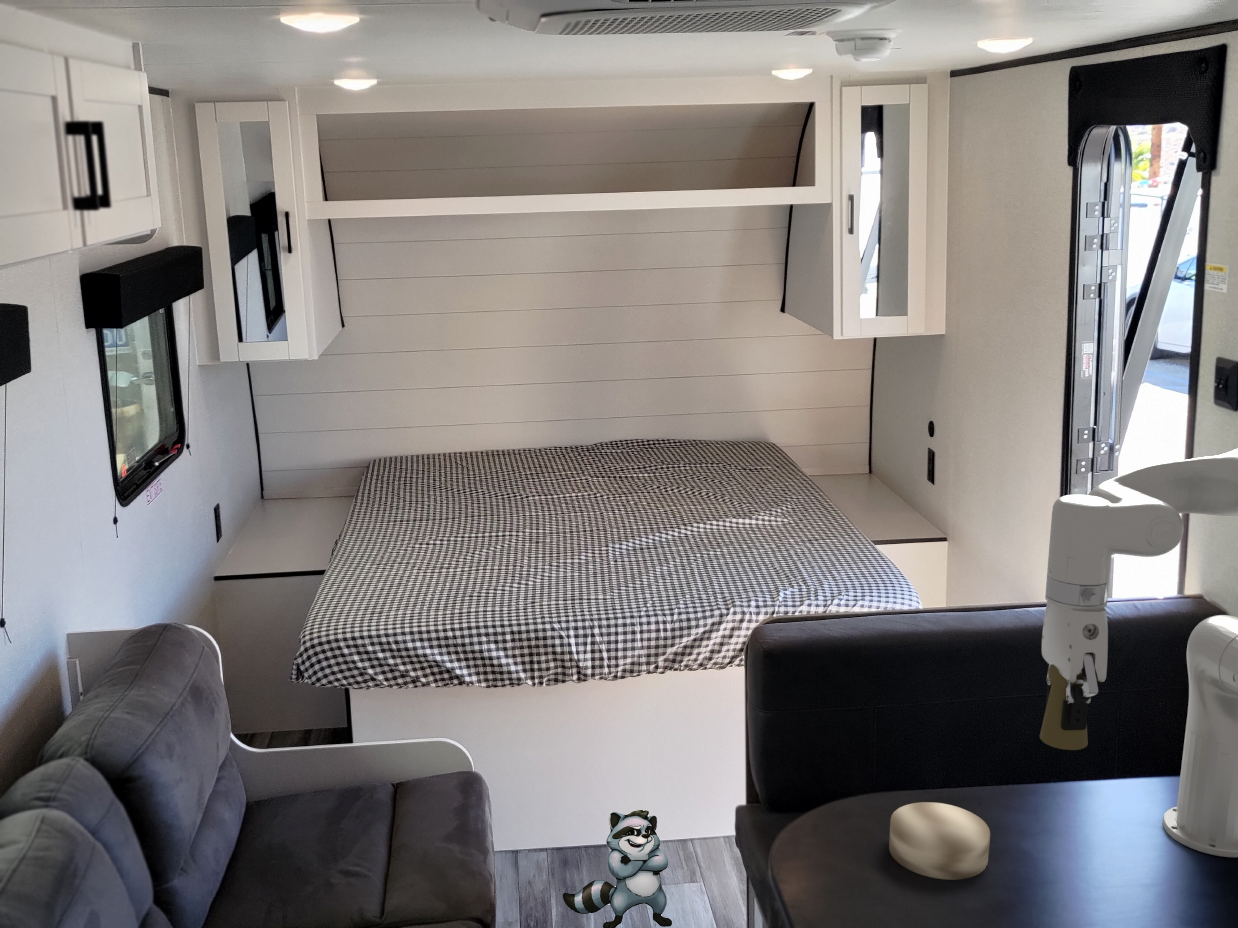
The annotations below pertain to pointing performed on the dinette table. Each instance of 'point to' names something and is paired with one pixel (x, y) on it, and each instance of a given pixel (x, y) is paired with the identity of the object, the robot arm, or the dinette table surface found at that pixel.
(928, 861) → the disc
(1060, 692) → the olive pawn
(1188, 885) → the dinette table surface
